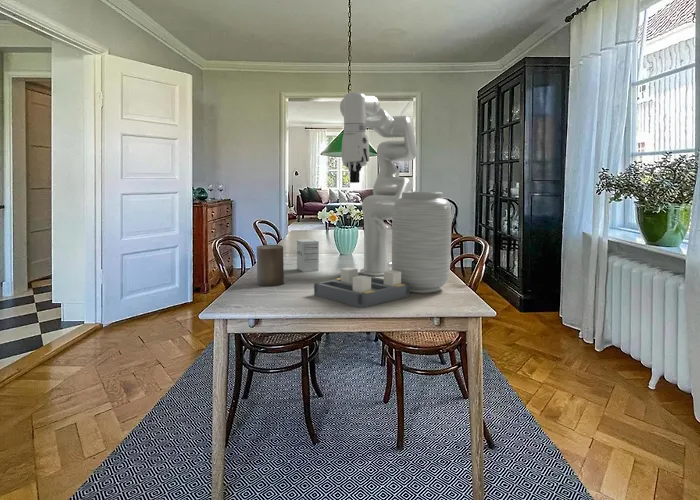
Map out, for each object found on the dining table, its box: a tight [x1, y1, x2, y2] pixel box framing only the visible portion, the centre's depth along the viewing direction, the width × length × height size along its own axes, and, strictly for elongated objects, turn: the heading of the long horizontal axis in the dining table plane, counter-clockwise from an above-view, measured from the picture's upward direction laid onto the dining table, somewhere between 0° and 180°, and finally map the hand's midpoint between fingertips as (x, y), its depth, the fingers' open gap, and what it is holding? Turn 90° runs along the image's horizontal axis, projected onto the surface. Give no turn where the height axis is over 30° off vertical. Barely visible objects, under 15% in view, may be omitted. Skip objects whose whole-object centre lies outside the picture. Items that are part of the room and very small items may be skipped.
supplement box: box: [296, 238, 320, 273], centre depth 203 cm, size 7×7×13 cm
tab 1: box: [353, 275, 372, 293], centre depth 149 cm, size 4×4×7 cm
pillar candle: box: [255, 242, 285, 287], centre depth 176 cm, size 10×10×15 cm
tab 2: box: [383, 269, 401, 286], centre depth 158 cm, size 4×4×7 cm
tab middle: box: [340, 267, 359, 284], centre depth 163 cm, size 4×4×7 cm
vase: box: [391, 191, 453, 294], centre depth 168 cm, size 20×20×34 cm
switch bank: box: [313, 274, 410, 309], centre depth 159 cm, size 22×22×4 cm
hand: (354, 182), depth 173 cm, fingers closed
